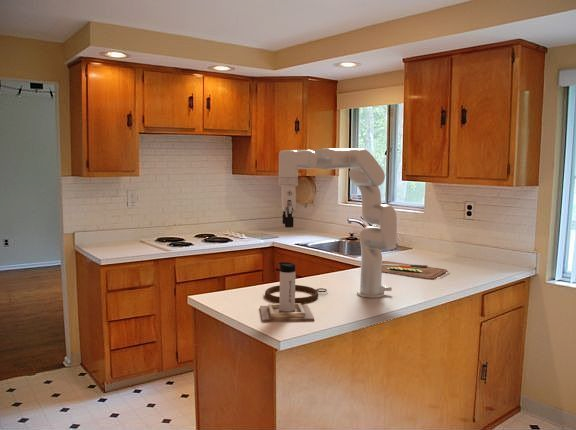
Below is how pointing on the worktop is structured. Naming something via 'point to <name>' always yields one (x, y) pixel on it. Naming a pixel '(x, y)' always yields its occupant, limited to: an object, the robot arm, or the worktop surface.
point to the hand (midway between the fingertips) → (287, 225)
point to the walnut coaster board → (285, 313)
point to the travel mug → (287, 287)
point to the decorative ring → (298, 288)
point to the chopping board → (413, 270)
